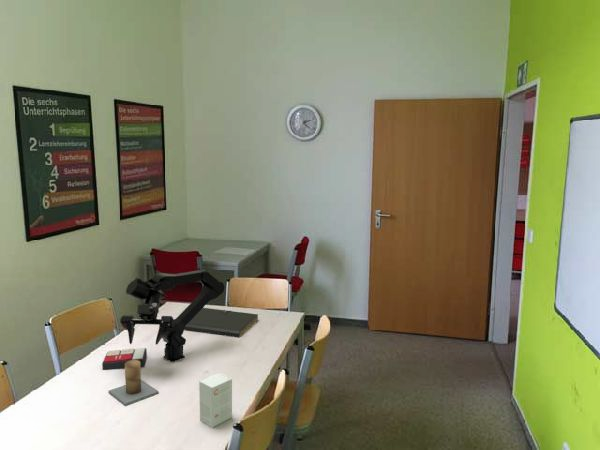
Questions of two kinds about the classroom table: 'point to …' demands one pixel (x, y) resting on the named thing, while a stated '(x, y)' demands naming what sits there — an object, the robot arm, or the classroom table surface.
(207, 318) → the file folder
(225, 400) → the small box
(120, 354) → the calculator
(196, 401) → the classroom table surface
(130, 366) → the roller
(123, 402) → the pad
